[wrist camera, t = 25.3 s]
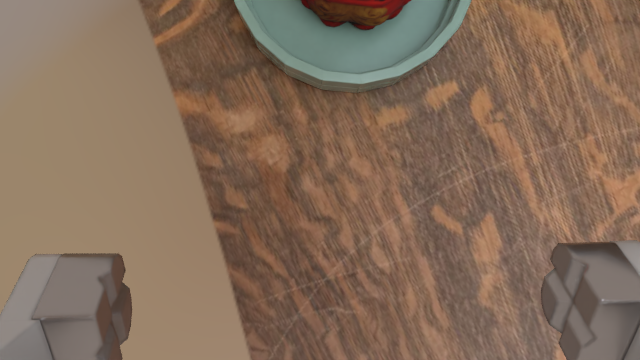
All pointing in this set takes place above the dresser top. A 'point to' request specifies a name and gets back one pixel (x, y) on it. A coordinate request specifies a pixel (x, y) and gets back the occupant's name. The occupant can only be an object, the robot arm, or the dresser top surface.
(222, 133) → the dresser top surface
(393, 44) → the bowl
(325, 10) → the red daruma ornament
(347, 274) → the dresser top surface
